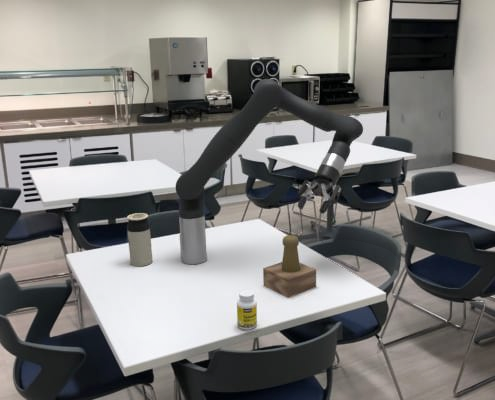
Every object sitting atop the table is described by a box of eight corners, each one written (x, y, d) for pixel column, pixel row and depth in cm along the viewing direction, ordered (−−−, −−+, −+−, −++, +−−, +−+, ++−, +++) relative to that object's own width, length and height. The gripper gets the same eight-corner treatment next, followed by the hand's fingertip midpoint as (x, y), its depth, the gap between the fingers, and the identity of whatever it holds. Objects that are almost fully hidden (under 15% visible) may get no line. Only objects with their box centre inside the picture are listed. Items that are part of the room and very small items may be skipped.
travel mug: (155, 258, 192) (151, 212, 187) (149, 267, 184) (145, 219, 179) (134, 258, 193) (130, 212, 188) (127, 266, 185) (123, 219, 180)
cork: (299, 273, 160) (299, 240, 157) (280, 272, 162) (279, 239, 159) (301, 265, 166) (301, 233, 163) (282, 264, 167) (282, 232, 164)
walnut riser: (263, 285, 166) (263, 268, 165) (290, 275, 173) (290, 258, 172) (288, 297, 157) (288, 279, 156) (316, 286, 164) (316, 269, 163)
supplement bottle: (243, 332, 138) (241, 299, 136) (234, 323, 143) (232, 291, 140) (260, 327, 140) (259, 294, 138) (251, 318, 145) (250, 287, 143)
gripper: (308, 161, 175) (288, 200, 169) (344, 165, 165) (324, 208, 160) (317, 173, 180) (297, 212, 175) (352, 178, 170) (333, 220, 165)
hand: (310, 210), depth 167 cm, fingers open, 8 cm apart
